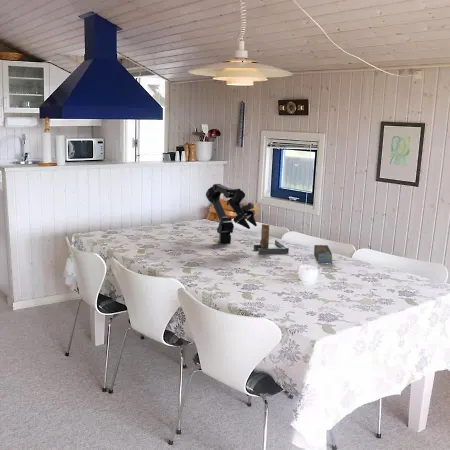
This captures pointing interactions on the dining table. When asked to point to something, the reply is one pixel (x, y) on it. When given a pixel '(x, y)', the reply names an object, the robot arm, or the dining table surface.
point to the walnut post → (265, 236)
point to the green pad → (272, 246)
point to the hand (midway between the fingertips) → (253, 227)
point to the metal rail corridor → (281, 248)
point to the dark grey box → (323, 254)
